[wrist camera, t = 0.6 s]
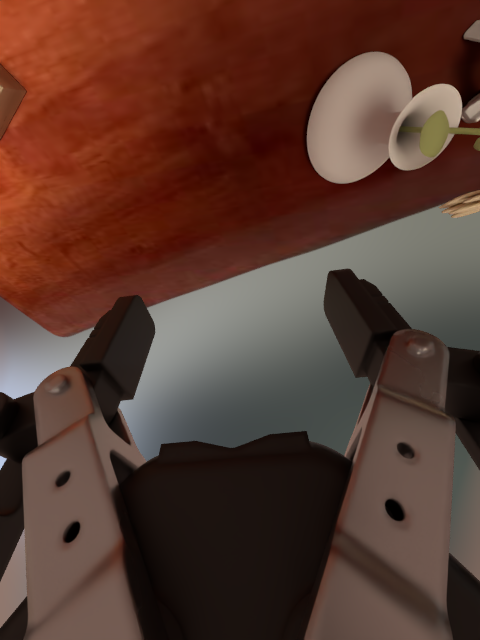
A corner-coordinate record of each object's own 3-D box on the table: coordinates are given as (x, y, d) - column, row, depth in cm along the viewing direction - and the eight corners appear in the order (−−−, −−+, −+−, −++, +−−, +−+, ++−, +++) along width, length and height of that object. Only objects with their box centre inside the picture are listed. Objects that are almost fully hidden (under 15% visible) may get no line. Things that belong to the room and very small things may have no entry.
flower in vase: (287, 163, 30) (387, 237, 11) (337, 32, 23) (842, -366, 4) (369, 196, 33) (556, 300, 14) (436, 90, 26) (983, 15, 7)
